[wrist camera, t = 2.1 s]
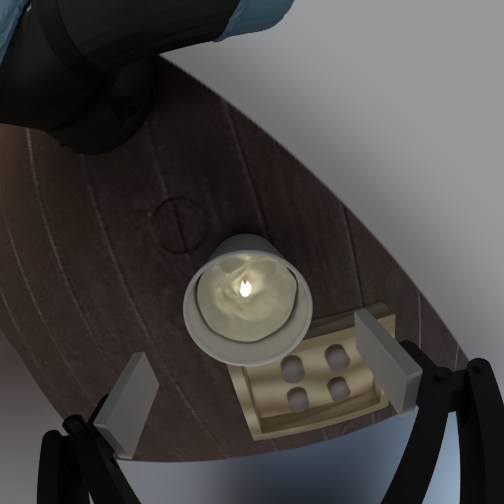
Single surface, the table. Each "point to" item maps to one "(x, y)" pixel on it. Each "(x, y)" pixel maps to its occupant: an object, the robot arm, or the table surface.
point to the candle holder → (247, 303)
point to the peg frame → (312, 380)
